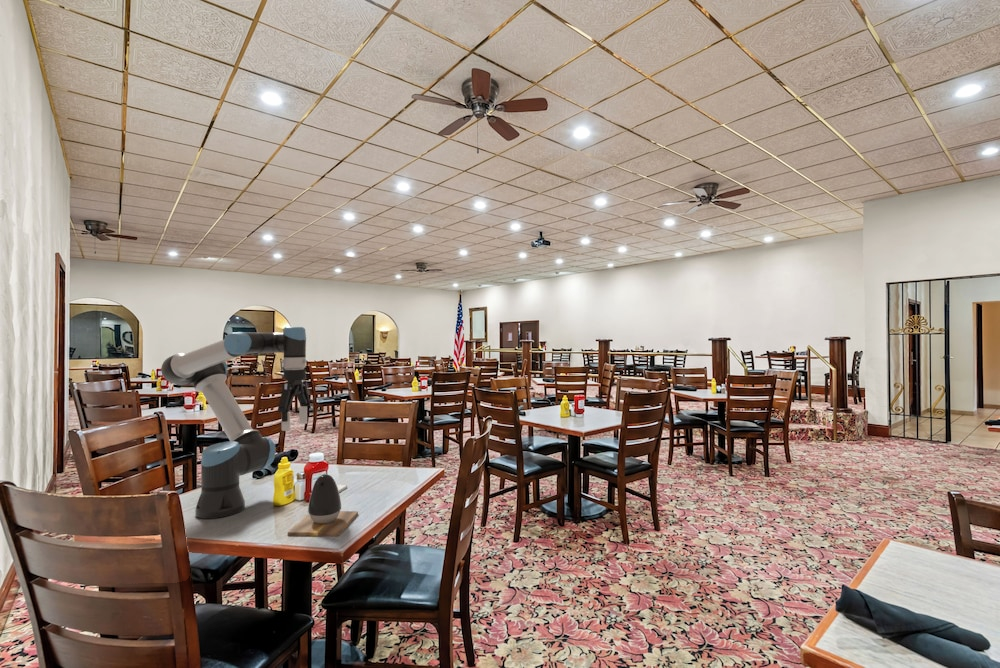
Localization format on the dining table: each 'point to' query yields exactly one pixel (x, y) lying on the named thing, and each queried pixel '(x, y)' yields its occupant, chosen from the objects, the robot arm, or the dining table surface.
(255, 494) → the dining table surface
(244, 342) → the robot arm
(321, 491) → the dark grey rounded ovoid
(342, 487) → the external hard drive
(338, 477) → the dining table surface
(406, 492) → the dining table surface
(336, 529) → the board
